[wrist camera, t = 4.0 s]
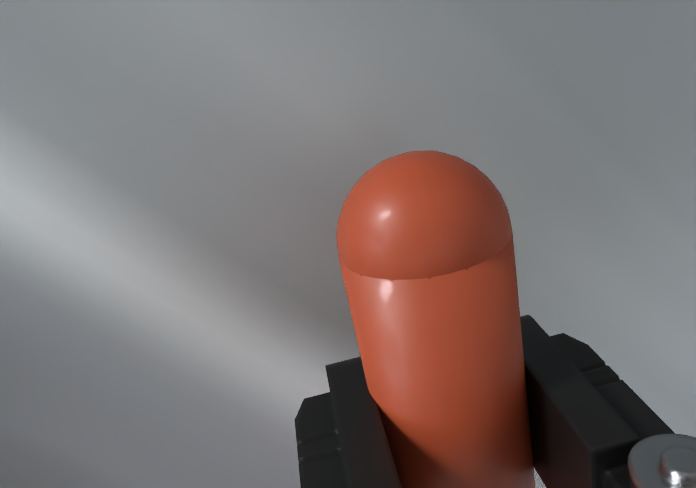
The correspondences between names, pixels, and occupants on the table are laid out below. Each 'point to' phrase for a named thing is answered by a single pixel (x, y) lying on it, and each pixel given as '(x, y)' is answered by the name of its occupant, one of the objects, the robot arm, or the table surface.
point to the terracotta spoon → (439, 320)
